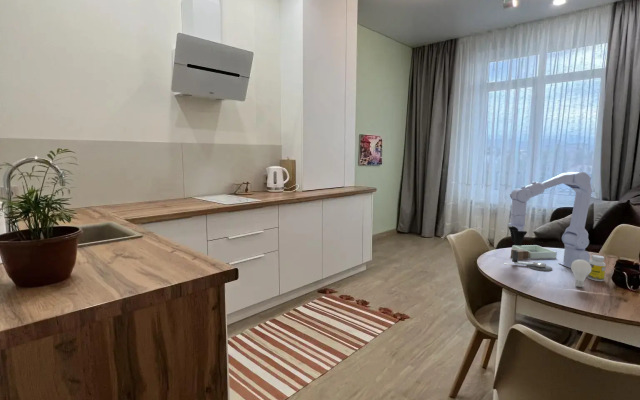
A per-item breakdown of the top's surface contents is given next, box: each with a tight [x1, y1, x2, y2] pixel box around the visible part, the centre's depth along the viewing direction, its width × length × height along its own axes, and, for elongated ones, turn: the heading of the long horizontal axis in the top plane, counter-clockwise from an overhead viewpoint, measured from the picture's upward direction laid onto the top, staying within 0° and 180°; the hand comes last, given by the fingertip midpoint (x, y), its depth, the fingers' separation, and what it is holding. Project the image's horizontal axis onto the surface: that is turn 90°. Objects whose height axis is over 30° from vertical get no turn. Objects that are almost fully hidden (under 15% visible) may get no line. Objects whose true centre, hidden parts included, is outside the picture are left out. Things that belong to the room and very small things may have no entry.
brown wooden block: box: [510, 248, 529, 260], centre depth 171 cm, size 4×4×6 cm
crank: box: [511, 250, 547, 268], centre depth 158 cm, size 14×5×7 cm, turn 71°
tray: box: [511, 244, 558, 260], centre depth 178 cm, size 14×14×4 cm
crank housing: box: [503, 262, 553, 272], centre depth 158 cm, size 20×10×1 cm, turn 71°
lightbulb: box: [570, 259, 592, 288], centre depth 132 cm, size 6×6×11 cm
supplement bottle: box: [587, 254, 607, 282], centre depth 142 cm, size 5×5×10 cm
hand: (516, 243), depth 159 cm, fingers open, 7 cm apart
